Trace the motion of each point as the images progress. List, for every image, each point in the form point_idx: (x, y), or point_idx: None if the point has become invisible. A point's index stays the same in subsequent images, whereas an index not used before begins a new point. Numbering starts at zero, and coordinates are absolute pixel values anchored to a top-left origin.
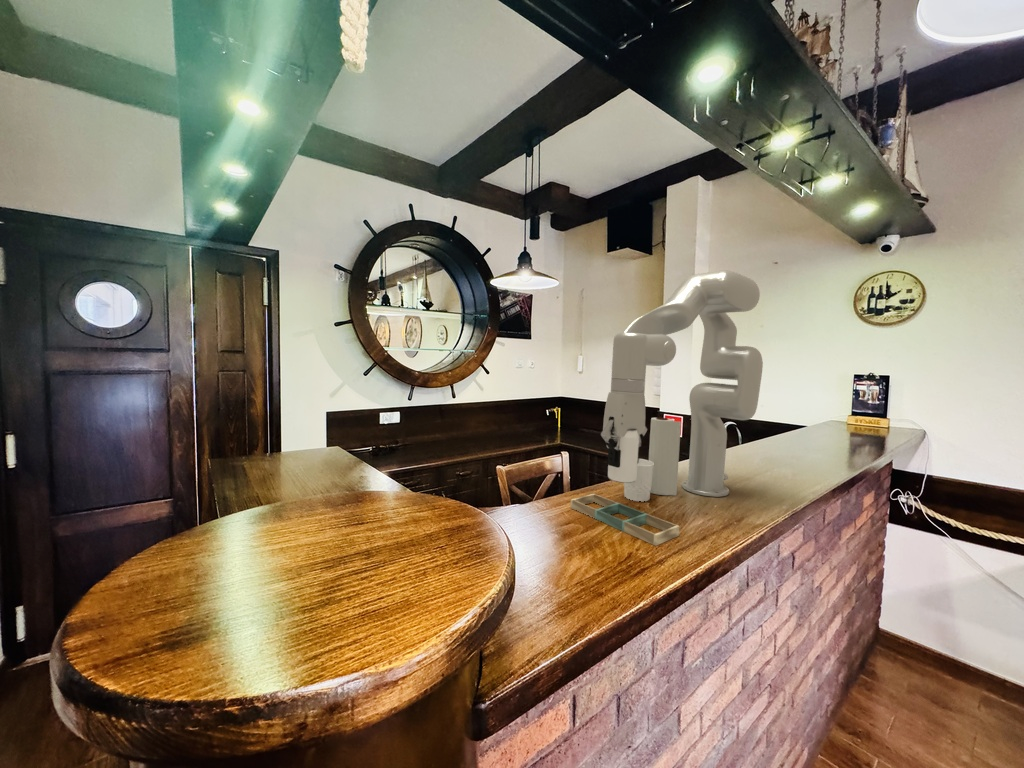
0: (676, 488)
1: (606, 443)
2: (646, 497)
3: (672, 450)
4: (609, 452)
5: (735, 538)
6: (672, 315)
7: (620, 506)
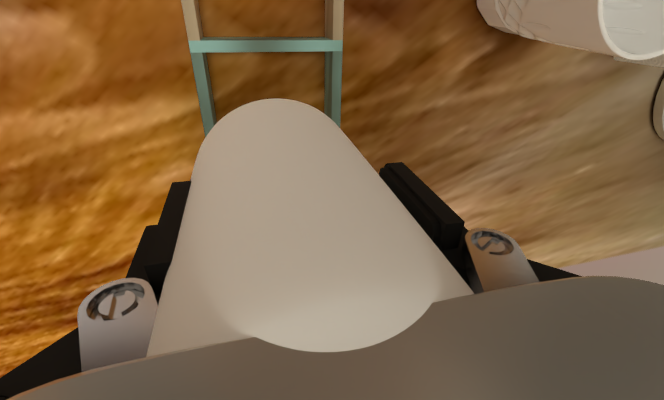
0: (638, 62)
1: (13, 378)
2: (510, 32)
3: None
4: (128, 277)
5: None
6: None
7: (330, 60)
